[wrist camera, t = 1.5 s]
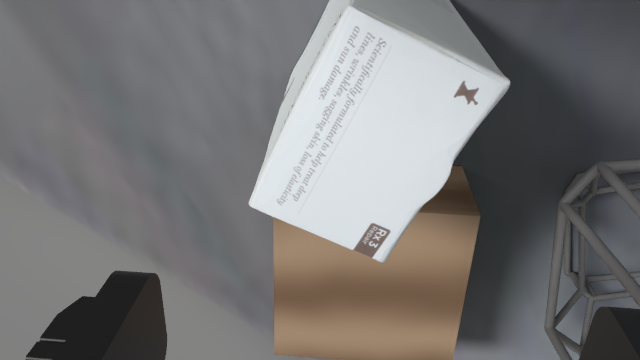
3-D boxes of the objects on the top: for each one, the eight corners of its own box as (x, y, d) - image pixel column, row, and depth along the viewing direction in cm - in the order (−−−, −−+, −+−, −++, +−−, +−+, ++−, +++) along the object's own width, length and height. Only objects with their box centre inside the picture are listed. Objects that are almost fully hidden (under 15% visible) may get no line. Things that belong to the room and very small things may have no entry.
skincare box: (353, -58, 28) (344, -20, 15) (452, -4, 29) (525, 75, 16) (288, 81, 32) (235, 207, 19) (377, 125, 33) (386, 275, 20)
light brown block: (287, 156, 34) (272, 203, 29) (462, 166, 34) (480, 216, 28) (286, 293, 39) (274, 354, 34) (439, 304, 39) (450, 368, 34)
